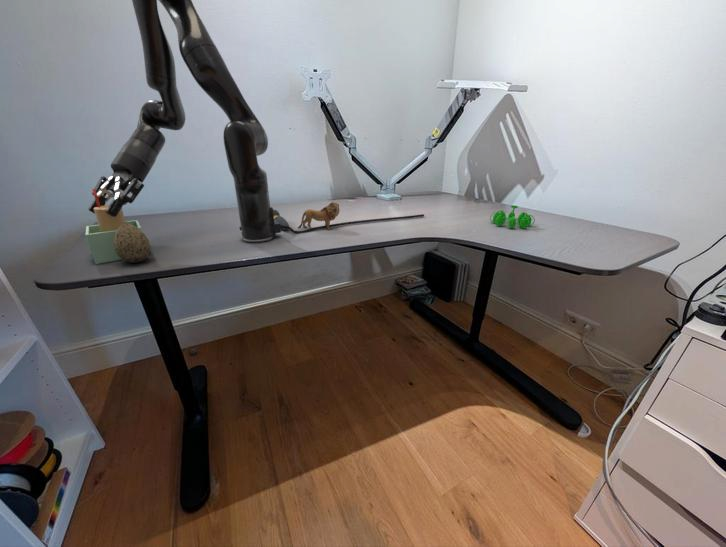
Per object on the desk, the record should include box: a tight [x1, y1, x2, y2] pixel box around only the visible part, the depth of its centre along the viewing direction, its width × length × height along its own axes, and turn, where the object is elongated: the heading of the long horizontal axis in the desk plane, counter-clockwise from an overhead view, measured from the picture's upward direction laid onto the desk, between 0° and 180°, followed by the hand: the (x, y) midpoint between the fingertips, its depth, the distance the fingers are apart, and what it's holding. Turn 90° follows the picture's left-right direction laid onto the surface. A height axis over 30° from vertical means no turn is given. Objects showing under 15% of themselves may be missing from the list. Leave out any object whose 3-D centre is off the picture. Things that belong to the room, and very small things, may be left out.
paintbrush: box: [273, 208, 290, 231], centre depth 112 cm, size 20×5×5 cm, turn 38°
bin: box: [84, 219, 143, 265], centre depth 82 cm, size 11×10×8 cm
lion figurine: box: [297, 201, 341, 231], centre depth 107 cm, size 15×5×9 cm, turn 103°
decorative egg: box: [114, 223, 151, 264], centre depth 76 cm, size 7×7×10 cm
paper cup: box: [91, 188, 126, 232], centre depth 80 cm, size 6×6×14 cm
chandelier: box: [489, 205, 536, 230], centre depth 114 cm, size 15×15×7 cm
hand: (101, 213), depth 78 cm, fingers open, 6 cm apart
